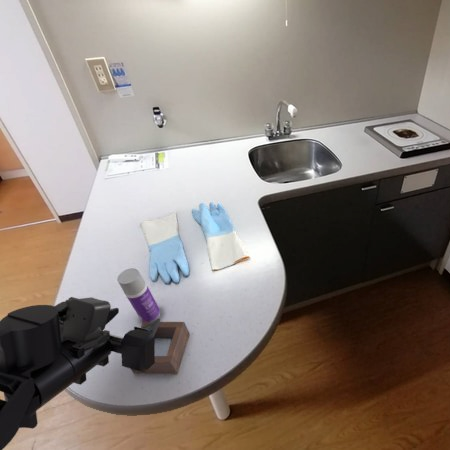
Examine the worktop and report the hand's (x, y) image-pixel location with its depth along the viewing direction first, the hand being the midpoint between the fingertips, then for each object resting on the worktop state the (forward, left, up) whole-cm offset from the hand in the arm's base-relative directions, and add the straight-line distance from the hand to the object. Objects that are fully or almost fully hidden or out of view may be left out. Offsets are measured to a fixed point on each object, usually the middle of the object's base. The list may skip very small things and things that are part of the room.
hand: (138, 315), depth 59 cm
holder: (0, 0, -15) cm, 15 cm away
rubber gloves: (+28, +25, -15) cm, 40 cm away
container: (+4, +11, -15) cm, 20 cm away
